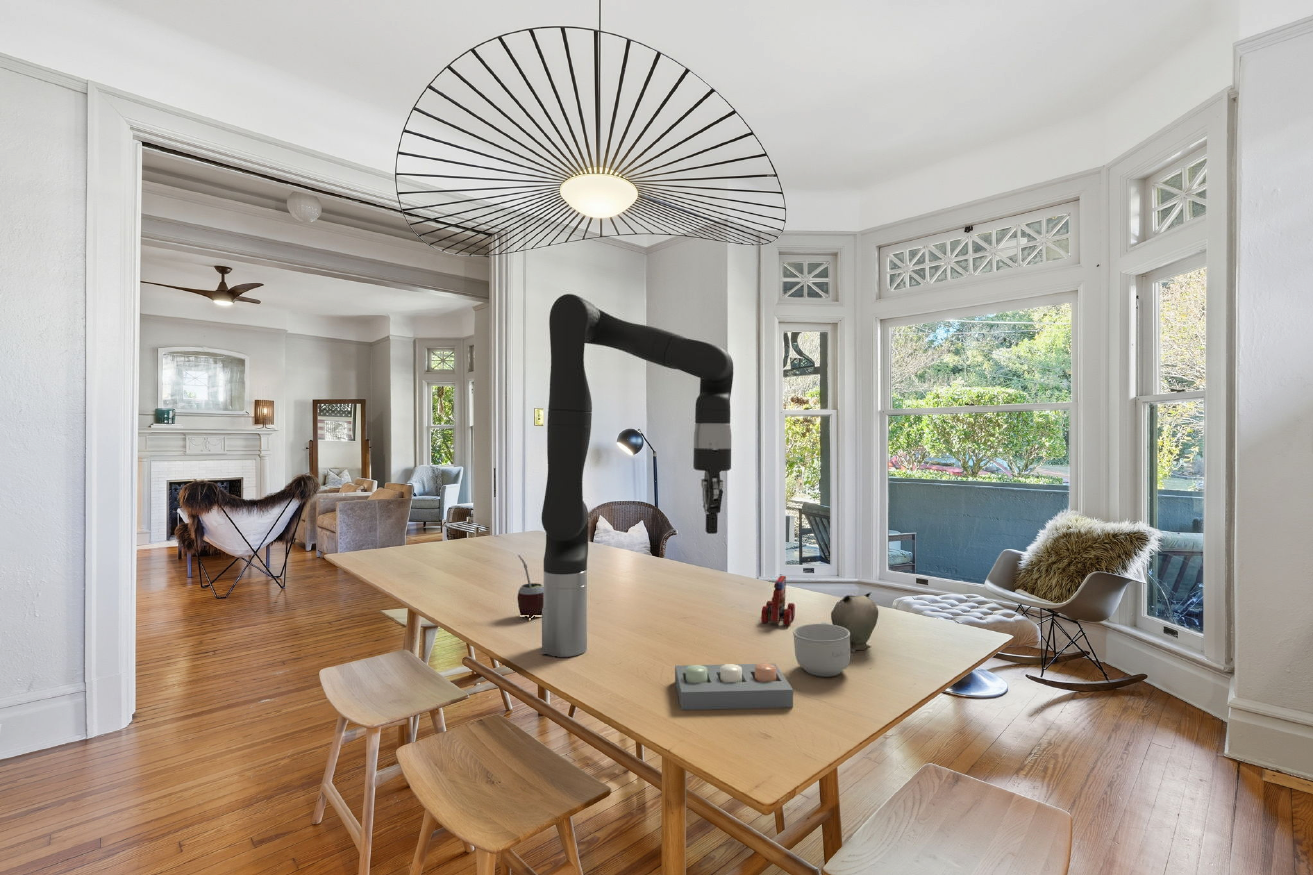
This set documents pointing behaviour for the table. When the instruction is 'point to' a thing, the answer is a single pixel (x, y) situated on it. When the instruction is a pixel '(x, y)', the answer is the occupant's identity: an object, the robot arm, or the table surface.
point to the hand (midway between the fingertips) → (711, 532)
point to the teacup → (822, 648)
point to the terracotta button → (765, 672)
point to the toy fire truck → (778, 605)
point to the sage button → (696, 674)
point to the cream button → (730, 673)
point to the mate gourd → (530, 596)
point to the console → (732, 690)
